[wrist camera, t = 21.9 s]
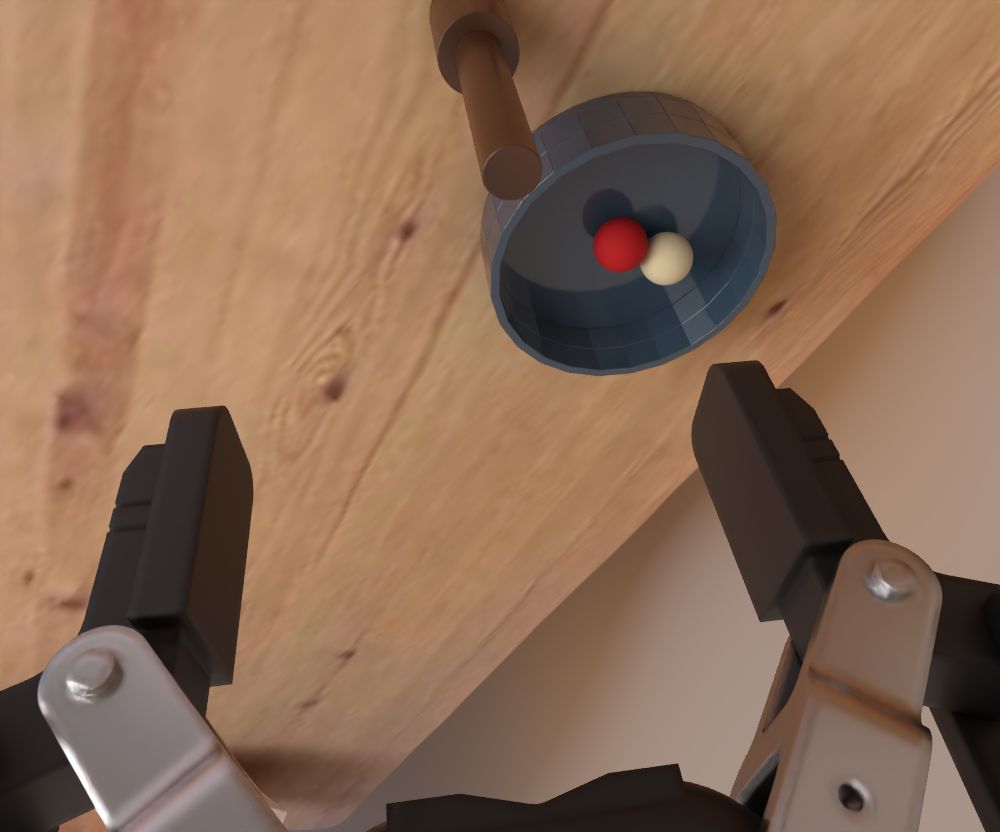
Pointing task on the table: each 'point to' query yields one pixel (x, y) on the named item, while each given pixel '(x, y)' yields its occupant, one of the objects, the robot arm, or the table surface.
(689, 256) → the cream ball
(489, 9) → the brown stepped wooden peg
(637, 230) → the red ball
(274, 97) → the table surface
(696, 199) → the bowl
